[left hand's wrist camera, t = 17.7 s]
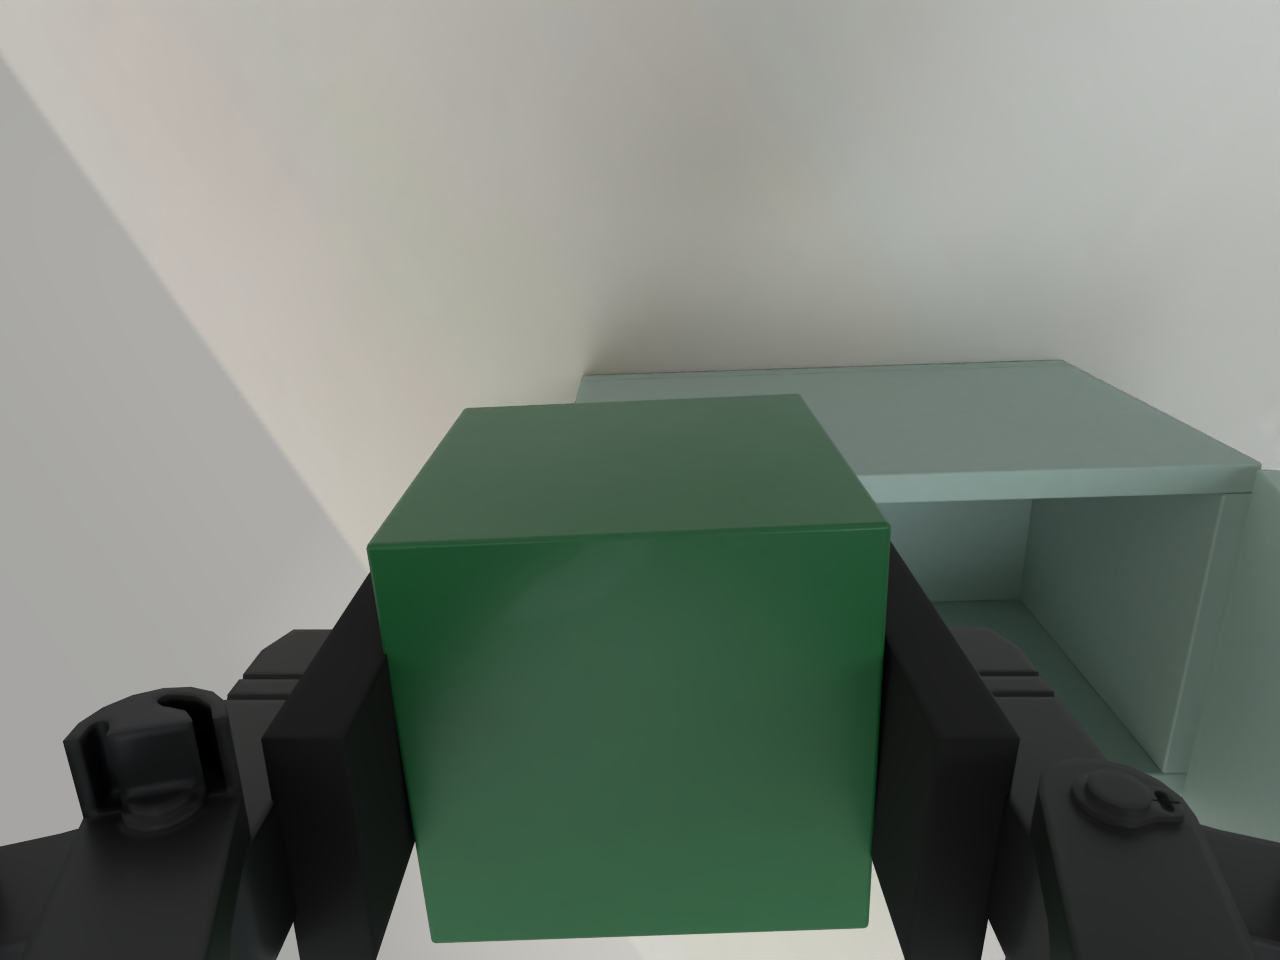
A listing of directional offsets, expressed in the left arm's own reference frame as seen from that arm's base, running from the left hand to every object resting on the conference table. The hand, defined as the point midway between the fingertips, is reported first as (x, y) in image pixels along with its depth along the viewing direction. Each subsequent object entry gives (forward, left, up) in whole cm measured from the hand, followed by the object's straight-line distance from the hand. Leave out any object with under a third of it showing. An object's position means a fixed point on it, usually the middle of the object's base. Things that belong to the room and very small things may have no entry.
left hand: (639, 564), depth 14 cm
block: (0, 0, 0) cm, 0 cm away
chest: (+9, +1, -18) cm, 20 cm away
